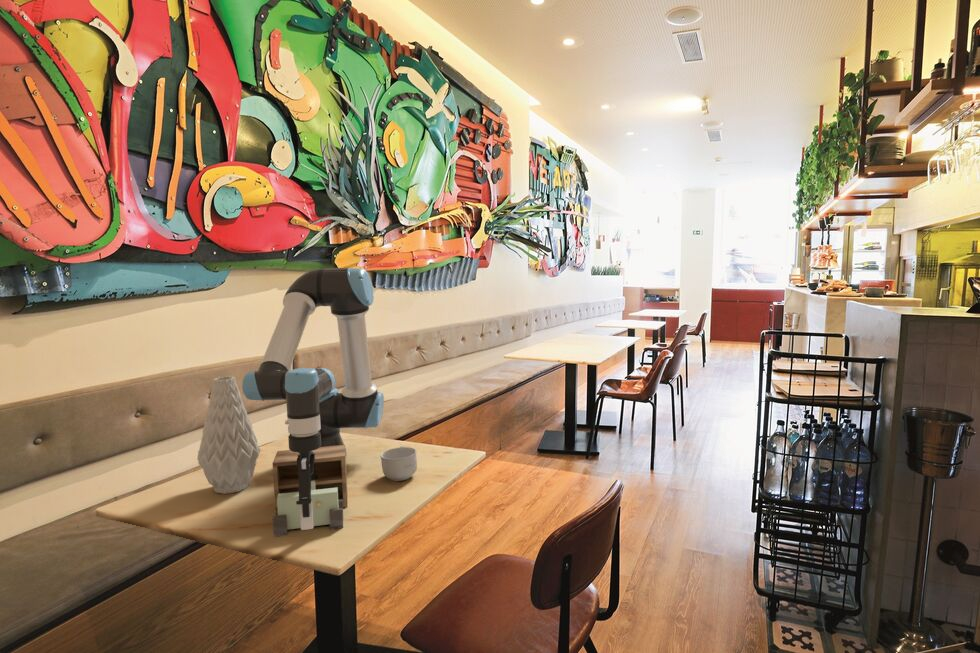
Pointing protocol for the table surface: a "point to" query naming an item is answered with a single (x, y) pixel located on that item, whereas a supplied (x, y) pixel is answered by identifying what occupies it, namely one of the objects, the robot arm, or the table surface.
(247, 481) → the vase
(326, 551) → the table surface
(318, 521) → the door
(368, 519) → the table surface
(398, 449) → the teacup
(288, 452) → the wooden shelf unit
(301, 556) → the table surface
